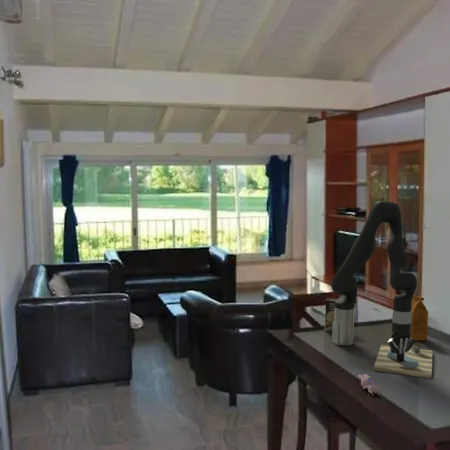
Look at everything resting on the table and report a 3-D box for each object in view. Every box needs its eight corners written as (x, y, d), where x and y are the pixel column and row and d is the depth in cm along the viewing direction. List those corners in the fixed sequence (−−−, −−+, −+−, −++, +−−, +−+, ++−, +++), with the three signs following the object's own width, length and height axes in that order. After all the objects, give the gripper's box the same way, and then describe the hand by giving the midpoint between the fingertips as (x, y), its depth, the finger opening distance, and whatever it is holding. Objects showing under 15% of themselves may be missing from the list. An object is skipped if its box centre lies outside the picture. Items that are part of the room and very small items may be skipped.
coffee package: (419, 334, 273) (421, 291, 271) (429, 342, 261) (431, 297, 258) (399, 334, 273) (401, 291, 270) (409, 342, 260) (410, 297, 258)
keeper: (417, 355, 237) (418, 346, 237) (410, 351, 243) (410, 342, 243) (426, 355, 238) (426, 346, 238) (418, 350, 244) (418, 341, 244)
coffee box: (324, 331, 278) (324, 300, 277) (326, 327, 284) (326, 297, 283) (342, 332, 275) (343, 301, 274) (343, 329, 281) (344, 299, 280)
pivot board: (431, 378, 216) (431, 364, 215) (373, 370, 224) (374, 357, 224) (432, 354, 244) (432, 342, 244) (381, 347, 252) (381, 336, 252)
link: (385, 354, 237) (385, 350, 237) (394, 353, 238) (394, 349, 238) (409, 368, 221) (409, 363, 221) (419, 366, 223) (419, 361, 223)
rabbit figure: (383, 400, 199) (368, 378, 213) (385, 385, 197) (369, 364, 212) (366, 400, 198) (353, 378, 212) (368, 386, 196) (354, 365, 211)
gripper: (409, 317, 230) (407, 357, 231) (382, 319, 225) (381, 360, 227) (421, 322, 223) (419, 363, 224) (393, 324, 218) (392, 366, 220)
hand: (400, 361), depth 226 cm, fingers closed
